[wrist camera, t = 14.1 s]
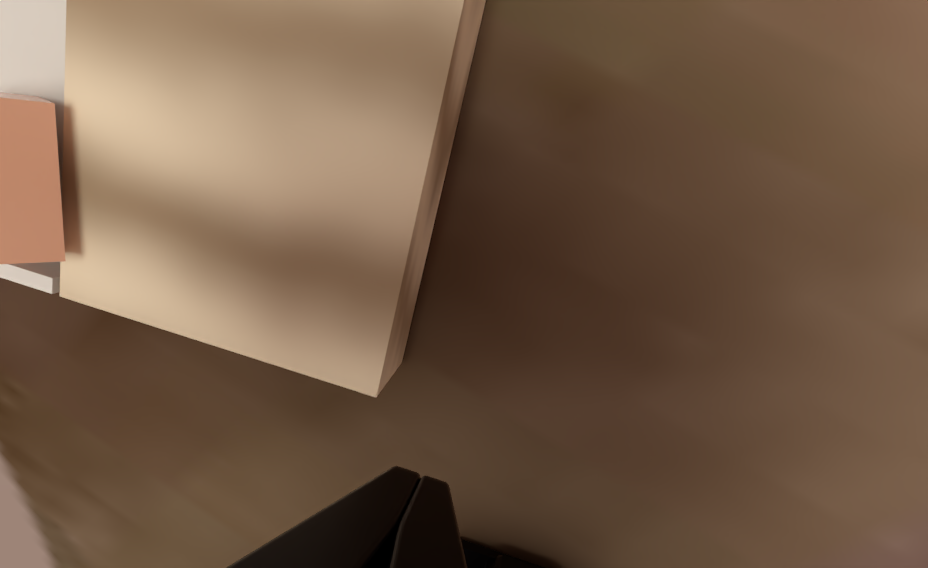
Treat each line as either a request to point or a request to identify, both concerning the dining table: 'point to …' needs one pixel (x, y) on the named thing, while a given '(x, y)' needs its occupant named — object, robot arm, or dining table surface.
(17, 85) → the tray
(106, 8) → the large cream board
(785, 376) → the dining table surface
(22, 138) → the tile
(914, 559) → the dining table surface
